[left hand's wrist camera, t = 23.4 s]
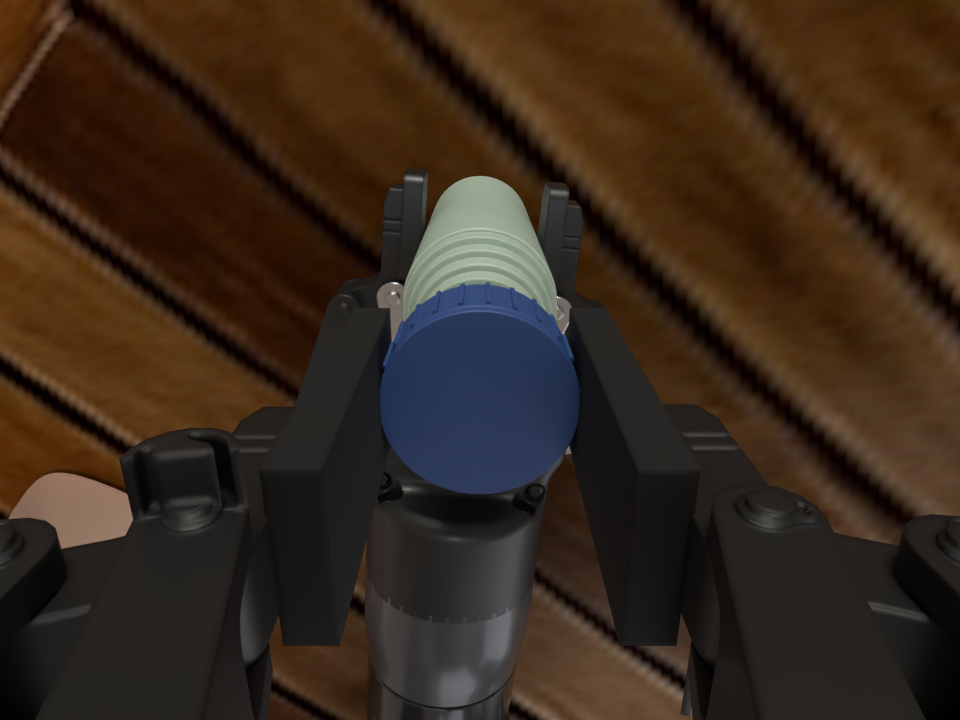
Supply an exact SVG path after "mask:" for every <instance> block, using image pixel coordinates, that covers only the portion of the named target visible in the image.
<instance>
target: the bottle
mask: <svg viewBox="0 0 960 720" xmlns="http://www.w3.org/2000/svg"><path fill="white" fill-rule="evenodd" d="M486 282H490V285H495V286H501V287H504V288H508V289H510V288H511V287H512V288H515V291H516V292H519V293H521V294H523V295H525V296H527V297H528V298H530V299H533V298H534V299H536V300H537V303H538V305H540V306H541V307H542V308H543V309H544V310H545V311H546V312H547V313H548V314H549V315H551V314H553V316H554V318H555V320H556V318H557V292H556V287H555V282H554V279H553V277H552V274H551V271H550V269H549V266H548V264H547V261H546V259H545V256H544V254H543V251H542V249H541V246H540V244H539V241H538V239H537V237H536V234H535V232H534V229H533V227H532V224H531V222H530V219H529V217H528V214H527V212H526V209H525V207H524V204H523V202H522V200H521V199H520V197H519V196H518V194H517V193H516V192H515V191H514V190H513V189H512V188H511V187H510V186H508V185H507V184H505V183H504V182H502V181H500V180H498V179H495V178H492V177H486V176H474V177H469V178H465V179H462V180H460V181H458V182H456V183H454V184H453V185H452V186H450V187H449V188H448V189H447V190H446V191H445V192H444V193H443V194H442V196H441V197H440V199H439V200H438V202H437V204H436V207H435V209H434V212H433V214H432V217H431V219H430V221H429V224H428V226H427V229H426V231H425V234H424V236H423V239H422V241H421V244H420V246H419V249H418V251H417V254H416V256H415V258H414V261H413V263H412V266H411V268H410V271H409V273H408V276H407V278H406V281H405V285H404V290H403V320H404V322H405V321H406V319H407V318H408V317H409V316H410V314H411V313H412V312H413V311H414V310H415V307H416V305H417V304H418V303H419V304H420V305H421V304H422V303H424V302H425V301H426V300H428V299H429V298H431V297H433V296H435V295H436V292H437V291H439V290H440V291H441V292H443V291H446V290H448V289H451V288H455V287H459V286H460V284H463V283H465V285H472V284H486Z"/></svg>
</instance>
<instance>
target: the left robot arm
mask: <svg viewBox="0 0 960 720" xmlns="http://www.w3.org/2000/svg"><path fill="white" fill-rule="evenodd" d="M391 341H392V337H391V317H390V308H354V309H353V311H352V312H351V314H350V316H349V318H348V319H347V321H346V323H345V324H344V326H343V328H342V329H341V331H340V333H339V334H338V336H337V338H336V340H335V341H334V343H333V345H332V346H331V348H330V350H329V351H328V353H327V355H326V356H325V358H324V360H323V362H322V363H321V365H320V367H319V368H318V370H317V372H316V373H315V375H314V377H313V378H312V380H311V382H310V384H309V385H308V387H307V389H306V390H305V392H304V394H303V395H302V397H301V399H300V400H299V402H298V404H297V406H296V407H263V408H261V409H259V410H258V411H256V412H254V413H253V414H251V415H250V416H248V417H246V418H245V419H243V420H242V421H241V422H240V423H239V425H238V426H237V427H236V429H235V430H234V432H233V433H232V434H231V433H230V432H227V431H223V430H219V429H214V428H189V429H183V430H176V431H170V432H167V433H164V434H161V435H157V436H154V437H151V438H148V439H146V440H144V441H143V442H141V443H139V444H137V445H135V446H133V447H131V448H130V449H129V450H128V451H127V452H126V453H125V454H124V455H123V456H122V457H121V458H120V459H119V460H120V464H121V468H122V473H123V477H124V482H125V486H126V491H127V495H128V499H129V504H130V508H131V513H132V517H133V521H132V523H131V525H130V527H129V529H128V531H127V533H126V535H125V536H122V537H118V538H114V539H110V540H105V541H99V542H94V543H89V544H83V545H78V546H73V547H68V548H62V549H61V545H60V542H59V538H58V534H57V531H56V528H55V527H54V526H52V525H51V524H50V523H48V522H47V521H46V520H40V519H34V518H16V519H1V520H0V720H267V716H268V708H269V699H270V690H271V682H272V673H273V669H272V662H271V656H270V649H269V642H268V641H269V639H270V636H271V634H272V631H273V628H274V626H275V623H276V621H277V618H278V615H279V619H280V626H281V633H282V640H283V646H340V642H341V638H342V634H343V630H344V626H345V622H346V618H347V614H348V610H349V606H350V602H351V598H352V595H353V591H354V587H355V583H356V579H357V575H358V571H359V567H360V563H361V559H362V555H363V551H364V547H365V543H366V540H367V536H368V532H369V528H370V524H371V520H372V516H373V512H374V508H375V504H376V500H377V496H378V492H379V488H380V485H381V481H382V477H383V473H384V469H385V465H386V461H387V457H388V453H389V449H390V444H389V442H388V440H387V438H386V436H385V434H384V431H383V428H382V423H381V408H380V383H381V379H382V375H383V372H384V370H385V369H382V366H383V363H384V360H385V357H386V354H387V352H388V349H389V346H390V343H391ZM568 343H569V345H570V348H571V351H572V354H573V357H574V359H575V360H574V361H572V363H573V366H574V369H575V372H576V375H577V377H578V381H579V386H580V400H579V417H578V427H577V429H576V432H575V434H574V437H573V439H572V441H571V443H570V445H569V447H570V451H571V455H572V459H573V463H574V467H575V471H576V474H577V478H578V482H579V486H580V490H581V494H582V498H583V502H584V506H585V510H586V514H587V518H588V522H589V526H590V529H591V533H592V537H593V541H594V545H595V549H596V553H597V557H598V561H599V565H600V569H601V573H602V577H603V581H604V584H605V588H606V592H607V596H608V600H609V604H610V608H611V612H612V616H613V620H614V624H615V628H616V632H617V636H618V639H619V643H620V646H676V644H677V637H678V630H679V623H680V615H681V613H682V616H683V618H684V621H685V624H686V626H687V629H688V631H689V634H690V636H691V639H692V642H691V649H690V656H689V662H688V669H687V676H686V682H685V689H684V696H683V702H682V709H681V715H686V716H690V711H691V706H692V715H693V720H960V516H946V515H934V514H931V515H925V516H919V517H914V518H913V519H912V520H910V521H909V522H908V523H907V524H905V525H904V529H903V532H902V536H901V540H900V543H899V546H898V545H892V544H887V543H882V542H877V541H871V540H866V539H861V538H855V537H850V536H846V535H842V534H838V533H834V532H833V530H832V528H831V526H830V524H829V522H828V520H827V518H826V517H825V516H824V514H823V513H822V512H821V511H820V510H819V508H818V507H817V506H815V505H814V504H812V503H811V502H809V501H808V500H806V499H804V498H803V497H801V496H799V495H797V494H794V493H792V492H789V491H786V490H784V489H781V488H777V487H772V486H768V485H767V484H766V482H765V481H764V479H763V478H762V477H761V475H760V474H759V473H758V471H757V470H756V469H755V467H754V466H753V465H752V463H751V462H750V460H749V459H748V458H747V456H746V455H745V454H744V452H743V451H742V450H740V449H739V448H740V447H739V446H738V444H737V443H736V442H735V440H734V439H733V437H730V433H729V432H728V431H727V429H726V428H725V427H724V425H723V424H722V423H721V421H720V420H719V419H718V418H717V417H716V416H714V415H712V414H711V413H709V412H707V411H706V410H704V409H702V408H701V407H699V406H698V405H662V403H661V401H660V400H659V398H658V396H657V395H656V393H655V391H654V389H653V388H652V386H651V384H650V383H649V381H648V379H647V378H646V376H645V374H644V373H643V371H642V369H641V367H640V366H639V364H638V362H637V361H636V359H635V357H634V356H633V354H632V352H631V350H630V349H629V347H628V345H627V344H626V342H625V340H624V339H623V337H622V335H621V334H620V332H619V330H618V328H617V327H616V325H615V323H614V322H613V320H612V318H611V317H610V315H609V313H608V312H607V310H606V308H570V309H569V328H568Z"/></svg>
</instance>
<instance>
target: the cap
mask: <svg viewBox="0 0 960 720" xmlns="http://www.w3.org/2000/svg"><path fill="white" fill-rule="evenodd" d="M574 360H575V359H574V357H573V354H572V351H571V348H570V345H569V343H568V340H567V337H566V335H565V334H562V333H561V331H560V329H559V328H558V326H557V323H556V320H555V318H554V316H553V314H551V315H549V314H548V313H547V312H546V311H545V310H544V309H543V308H542V307H541V306H540V305H538V303H537V300H536V299H534V298H533V299H530V298H528V297H527V296H525V295H523V294H521V293H519V292H516V291H515V288H512V287H511V288H510V289H508V288H504V287H501V286H495V285H490V282H486V284H472V285H465V283H463V284H460V286H459V287H455V288H451V289H448V290H446V291H443V292H441V291H440V290H439V291H437V292H436V295H435V296H433V297H431V298H429V299H428V300H426V301H425V302H424V303H422V304H421V305H420V304H419V303H418V304H417V305H416V307H415V310H414V311H413V312H412V313H411V314H410V316H409V317H408V318H407V319H406V321H405V322H404V321H401V323H400V325H399V328H398V331H397V334H396V337H395V340H394V342H393V341H391V343H390V346H389V349H388V352H387V354H386V357H385V360H384V363H383V366H382V369H385V370H384V372H383V375H382V379H381V383H380V408H381V423H382V428H383V431H384V434H385V436H386V438H387V440H388V442H389V444H390V446H391V447H392V449H393V450H394V452H395V453H396V455H397V456H398V457H399V458H400V459H401V460H402V462H403V463H404V464H405V465H406V466H407V467H409V468H410V469H411V470H412V471H413V472H414V473H416V474H417V475H419V476H420V477H422V478H423V479H425V480H427V481H429V482H431V483H433V484H435V485H437V486H440V487H442V488H445V489H448V490H452V491H456V492H461V493H468V494H491V493H499V492H503V491H508V490H511V489H514V488H517V487H520V486H522V485H525V484H527V483H529V482H531V481H533V480H534V479H536V478H538V477H539V476H541V475H542V474H544V473H545V472H546V471H547V470H549V469H550V468H551V467H552V466H553V465H554V464H555V463H556V462H557V461H558V460H559V459H560V458H561V456H562V455H563V454H564V452H565V451H566V449H567V448H568V446H569V445H570V443H571V441H572V439H573V437H574V434H575V432H576V429H577V427H578V417H579V400H580V386H579V381H578V377H577V375H576V372H575V369H574V366H573V363H572V361H574Z"/></svg>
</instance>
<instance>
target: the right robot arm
mask: <svg viewBox="0 0 960 720" xmlns="http://www.w3.org/2000/svg"><path fill="white" fill-rule="evenodd" d="M427 185H428V170H423V169H412V168H409V169H408V170H407V171H406V172H405V174H404V182H403V184H394V185H393V186H392V187H391V188H390V189H389V191H388V194H387V196H386V198H385V200H384V203H383V232H382V258H381V271H380V272H379V273H378V274H376V275H374V276H371V277H367V278H364V279H358V278H351V279H348V280H346V281H345V282H344V283H343V284H342V285H341V287H340V288H339V291H338V293H337V294H336V295H334V296H333V298H332V299H331V300H330V302H329V304H328V306H327V310H326V313H325V316H324V319H323V322H322V325H321V328H320V331H319V334H318V337H317V340H316V343H315V346H314V349H313V352H312V355H311V358H310V362H309V365H308V368H307V371H306V374H305V377H304V380H303V383H302V386H301V389H300V392H299V395H298V398H297V401H296V404H295V407H296V406H297V404H298V402H299V400H300V399H301V397H302V395H303V394H304V392H305V390H306V389H307V387H308V385H309V384H310V382H311V380H312V378H313V377H314V375H315V373H316V372H317V370H318V368H319V367H320V365H321V363H322V362H323V360H324V358H325V356H326V355H327V353H328V351H329V350H330V348H331V346H332V345H333V343H334V341H335V340H336V338H337V336H338V334H339V333H340V331H341V329H342V328H343V326H344V324H345V323H346V321H347V319H348V318H349V316H350V314H351V312H352V311H353V309H354V308H390V317H391V337H392V341H393V342H394V340H395V337H396V334H397V331H398V328H399V325H400V323H401V321H404V320H403V290H404V285H405V281H406V278H407V276H408V273H409V271H410V268H411V266H412V263H413V261H414V258H415V256H416V254H417V251H418V249H419V246H420V244H421V241H422V239H423V236H424V234H425V218H426V201H427ZM583 224H584V220H583V215H582V211H581V207H580V206H579V205H578V203H577V202H576V201H572V200H569V188H568V187H567V186H566V185H565V184H564V183H556V182H545V184H544V190H543V197H542V205H541V213H540V221H539V230H538V238H537V239H538V241H539V244H540V246H541V249H542V251H543V254H544V256H545V259H546V261H547V264H548V266H549V269H550V271H551V274H552V277H553V279H554V282H555V287H556V292H557V318H556V323H557V326H558V328H559V329H560V331H561V333H562V334H564V332H565V331H567V332H568V328H569V309H570V308H605V306H604V305H603V304H602V303H601V302H600V301H597V300H590V299H587V298H585V297H583V296H581V295H579V294H578V293H576V292H575V290H574V285H575V278H576V272H577V265H578V258H579V251H580V245H581V237H582V231H583ZM606 310H607V309H606ZM607 312H608V311H607ZM609 315H610V314H609ZM610 317H611V316H610ZM612 320H613V319H612ZM613 322H614V321H613ZM615 325H616V324H615ZM616 327H617V326H616ZM566 454H571V451H570V447H569V446H568V448H567V449H566V451H565V452H564V454H563V455H562V456H561V458H560V459H559V460H558V461H557V462H556V463H555V464H554V465H553V466H552V467H551V468H550V469H549V470H547V471H546V472H545V473H544V474H542V475H541V476H539V477H538V478H536V479H534V480H533V481H531V482H529V483H527V484H525V485H522V486H520V487H517V488H514V489H511V490H508V491H503V492H499V493H491V494H468V493H461V492H456V491H452V490H448V489H445V488H442V487H440V486H437V485H435V484H433V483H431V482H429V481H427V480H425V479H423V478H422V477H420V476H419V475H417V474H416V473H414V472H413V471H412V470H411V469H410V468H409V467H407V466H406V465H405V464H404V463H403V462H402V460H401V459H400V458H399V457H398V456H397V455H396V453H395V452H394V450H393V449H392V447H391V446H390V449H389V453H388V457H387V461H386V465H385V469H384V473H383V477H382V481H381V485H380V488H379V492H378V496H377V500H376V504H375V508H374V512H373V516H372V520H371V524H370V528H369V532H368V536H367V551H366V581H365V621H366V629H367V635H368V643H369V651H368V677H367V720H510V719H509V715H508V714H509V707H510V701H511V694H512V687H513V680H514V673H515V666H516V660H517V655H518V652H519V649H520V646H521V643H522V640H523V637H524V633H525V630H526V626H527V621H528V615H529V608H530V602H531V595H532V588H533V582H534V575H535V568H536V561H537V554H538V547H539V541H540V534H541V527H542V521H543V514H544V507H545V501H546V494H547V488H548V484H549V481H550V479H551V477H552V475H553V474H554V473H555V471H556V470H557V469H558V468H559V467H560V465H561V464H562V462H563V460H564V458H565V455H566Z"/></svg>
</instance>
